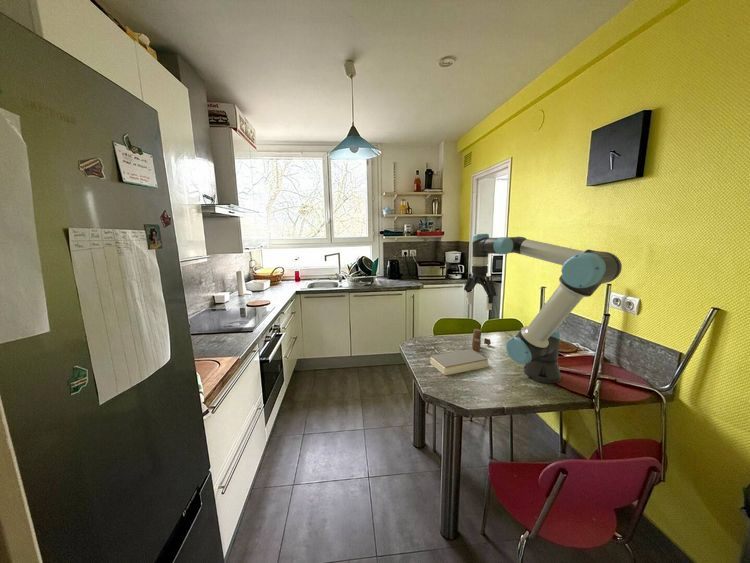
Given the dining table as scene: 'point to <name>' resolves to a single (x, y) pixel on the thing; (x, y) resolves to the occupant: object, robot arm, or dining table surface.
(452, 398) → the dining table surface
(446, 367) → the two-tone flat slab
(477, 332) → the wooden block set
